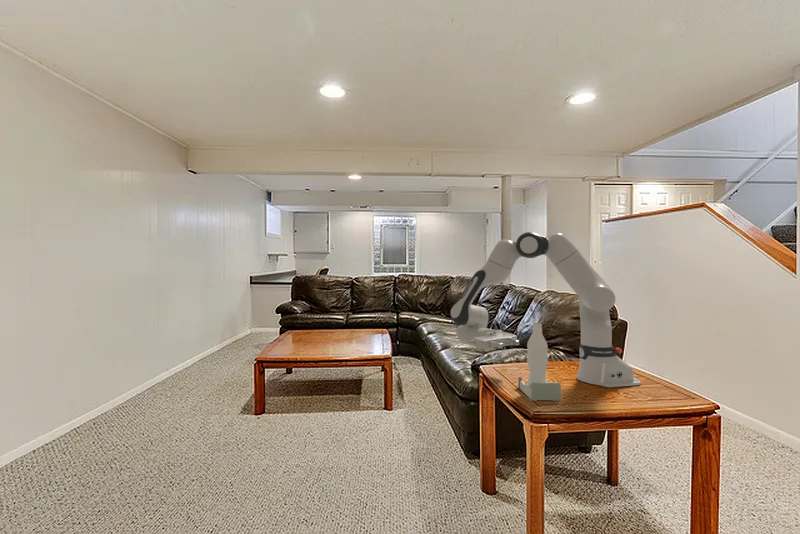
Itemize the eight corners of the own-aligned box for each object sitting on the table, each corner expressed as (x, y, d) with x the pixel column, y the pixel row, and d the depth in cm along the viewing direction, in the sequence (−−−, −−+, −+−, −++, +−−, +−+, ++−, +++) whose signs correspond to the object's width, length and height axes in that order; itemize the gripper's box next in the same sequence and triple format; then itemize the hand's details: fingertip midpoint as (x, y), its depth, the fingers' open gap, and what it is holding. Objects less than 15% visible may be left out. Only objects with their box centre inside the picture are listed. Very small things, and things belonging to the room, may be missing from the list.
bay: (544, 387, 141) (544, 371, 141) (560, 400, 127) (560, 383, 127) (518, 387, 141) (518, 371, 141) (532, 400, 127) (532, 383, 126)
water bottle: (528, 394, 133) (528, 324, 133) (525, 387, 140) (525, 321, 140) (549, 395, 132) (549, 325, 131) (545, 388, 139) (545, 322, 138)
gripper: (466, 333, 154) (490, 339, 142) (502, 329, 165) (527, 334, 153) (466, 348, 154) (490, 355, 142) (502, 343, 165) (527, 349, 153)
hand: (509, 344), depth 148 cm, fingers open, 8 cm apart
